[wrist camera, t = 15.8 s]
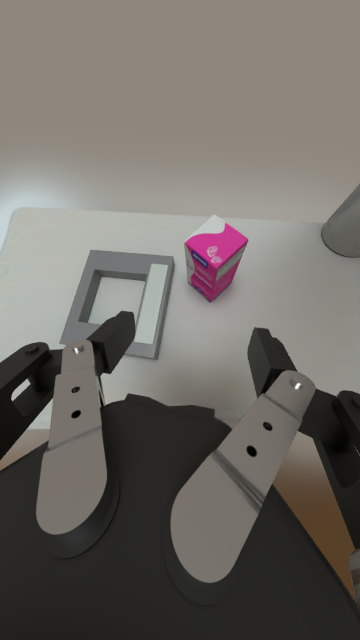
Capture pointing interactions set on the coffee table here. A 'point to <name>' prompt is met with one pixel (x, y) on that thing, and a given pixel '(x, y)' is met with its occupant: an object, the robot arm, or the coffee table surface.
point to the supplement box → (213, 256)
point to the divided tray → (152, 303)
